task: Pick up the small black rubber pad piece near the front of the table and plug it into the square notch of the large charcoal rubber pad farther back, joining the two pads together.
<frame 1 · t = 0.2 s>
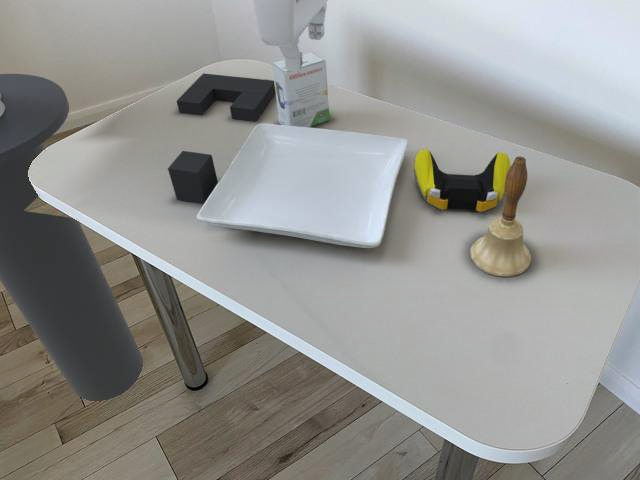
hand: (306, 52, 71), 24 cm above the table, tool pointing down, fingers open, 8 cm apart
pad piece: (198, 192, 89), on the table
hand bell: (499, 257, 77), on the table
gaming controller: (459, 195, 88), on the table
base pad: (229, 102, 111), on the table
square plate: (312, 194, 89), on the table
ink box: (304, 122, 105), on the table
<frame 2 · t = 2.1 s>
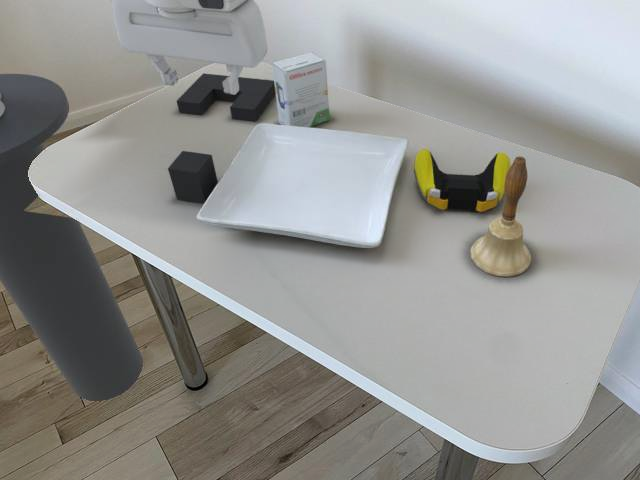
hand: (201, 87, 77), 18 cm above the table, tool pointing down, fingers open, 8 cm apart
nothing on the table moved.
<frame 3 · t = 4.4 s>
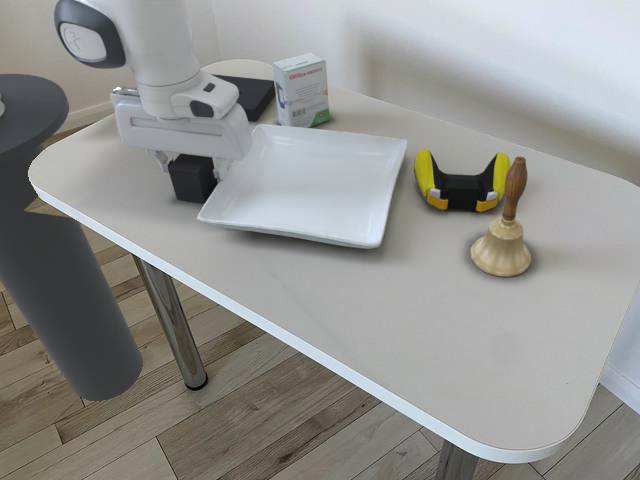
hand: (195, 174, 86), 4 cm above the table, tool pointing down, fingers open, 8 cm apart
square plate: (312, 194, 89), on the table, touching gripper
everything else where it was.
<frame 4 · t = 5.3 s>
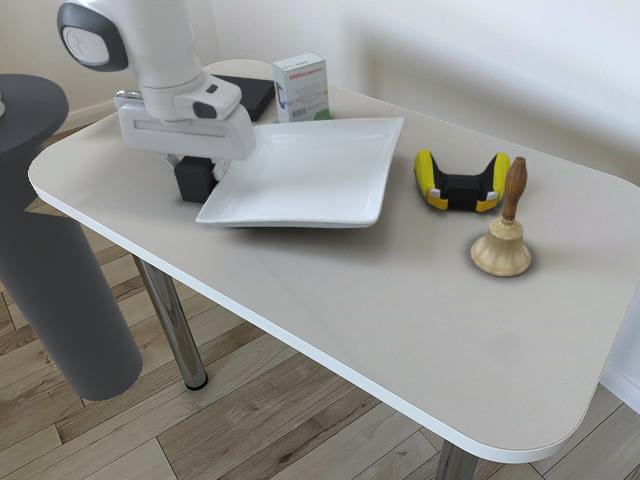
hand: (199, 176, 87), 3 cm above the table, tool pointing down, fingers closed on pad piece, 5 cm apart
pad piece: (203, 193, 89), on the table, touching gripper
square plate: (311, 184, 87), point 2 cm above the table, touching gripper
everything else where it was.
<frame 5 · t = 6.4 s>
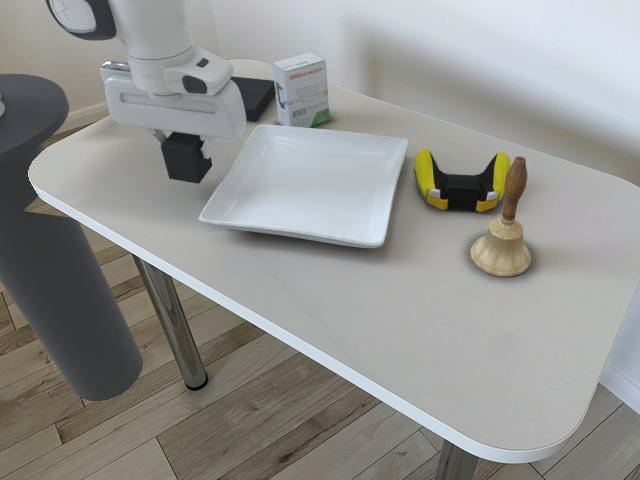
hand: (186, 153, 84), 7 cm above the table, tool pointing down, fingers closed on pad piece, 5 cm apart
pad piece: (191, 172, 87), point 4 cm above the table, touching gripper
square plate: (313, 194, 89), on the table
everything else where it was.
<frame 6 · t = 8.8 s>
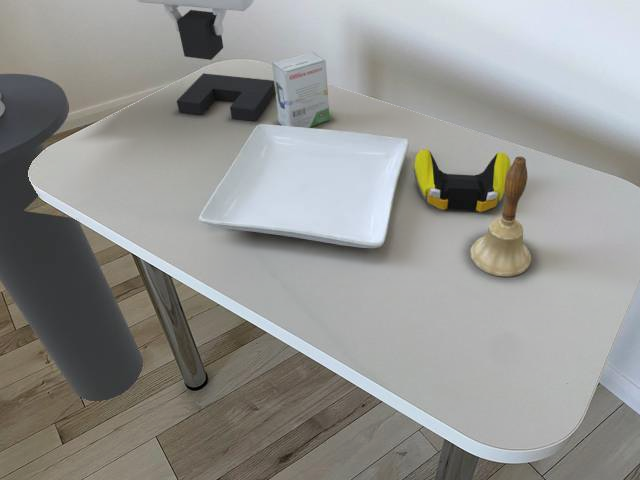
hand: (200, 32, 93), 17 cm above the table, tool pointing down, fingers closed on pad piece, 5 cm apart
pad piece: (204, 52, 96), point 14 cm above the table, touching gripper
everything else where it was.
when the fingers open (3 cm above the table, at t = 12.4 s): pad piece stays where it is, on the table.
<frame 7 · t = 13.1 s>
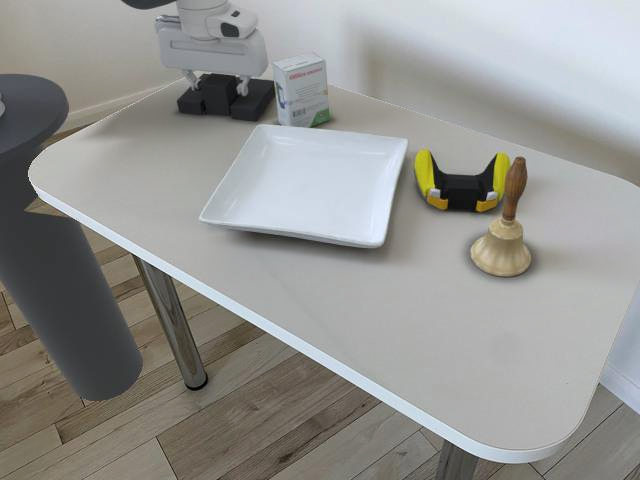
hand: (220, 92, 106), 4 cm above the table, tool pointing down, fingers open, 8 cm apart
pad piece: (223, 108, 109), on the table
everything else where it was.
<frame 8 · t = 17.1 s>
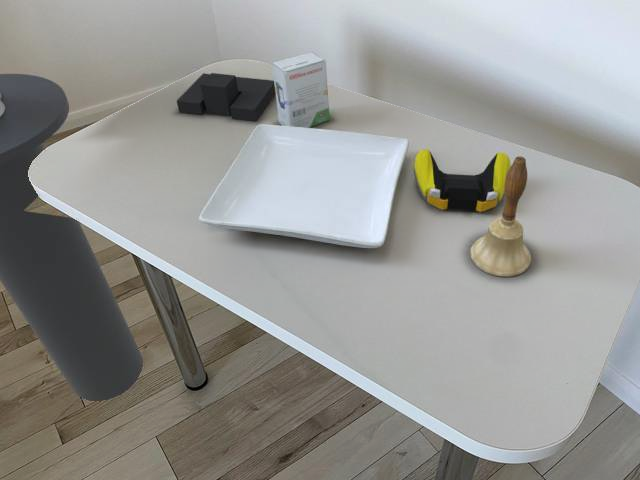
nothing on the table moved.
at the end: pad piece 0.2 cm from the target spot on the base pad, point 0.0 cm above the base pad's base; the gripper is holding nothing; pad piece tilted 0° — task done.
